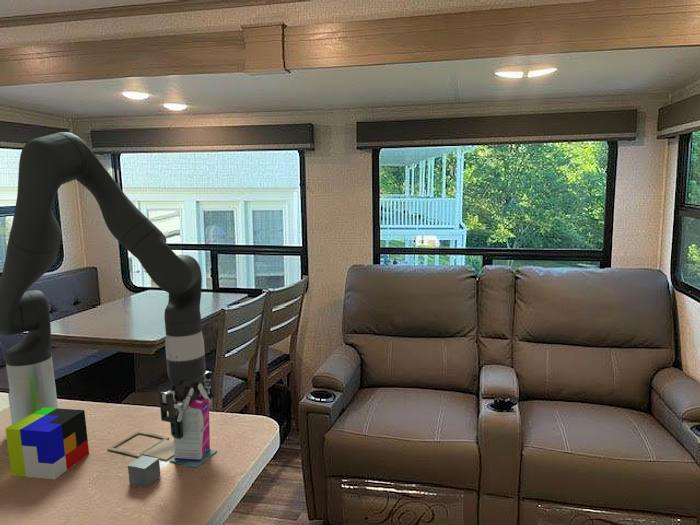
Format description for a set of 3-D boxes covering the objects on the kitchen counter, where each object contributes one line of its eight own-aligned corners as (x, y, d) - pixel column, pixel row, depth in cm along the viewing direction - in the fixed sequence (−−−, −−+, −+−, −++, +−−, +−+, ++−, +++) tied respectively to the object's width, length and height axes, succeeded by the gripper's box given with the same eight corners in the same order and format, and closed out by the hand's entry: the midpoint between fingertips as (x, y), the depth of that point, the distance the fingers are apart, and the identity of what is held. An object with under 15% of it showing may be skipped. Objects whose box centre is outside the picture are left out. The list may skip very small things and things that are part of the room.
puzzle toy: (54, 479, 104) (49, 431, 103) (11, 475, 106) (5, 428, 105) (89, 454, 114) (84, 410, 113) (49, 450, 116) (43, 407, 115)
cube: (129, 484, 102) (127, 465, 101) (144, 474, 105) (142, 455, 105) (146, 488, 100) (144, 468, 100) (160, 477, 104) (159, 458, 104)
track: (107, 450, 115) (107, 448, 115) (139, 432, 123) (138, 430, 123) (192, 470, 106) (191, 469, 106) (220, 449, 114) (220, 448, 114)
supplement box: (201, 462, 108) (199, 409, 107) (173, 460, 109) (170, 408, 107) (211, 448, 114) (209, 397, 113) (184, 447, 115) (182, 396, 113)
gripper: (175, 367, 100) (181, 448, 103) (222, 345, 113) (227, 417, 116) (145, 362, 103) (152, 441, 106) (194, 341, 116) (199, 412, 119)
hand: (191, 428), depth 111 cm, fingers open, 7 cm apart
